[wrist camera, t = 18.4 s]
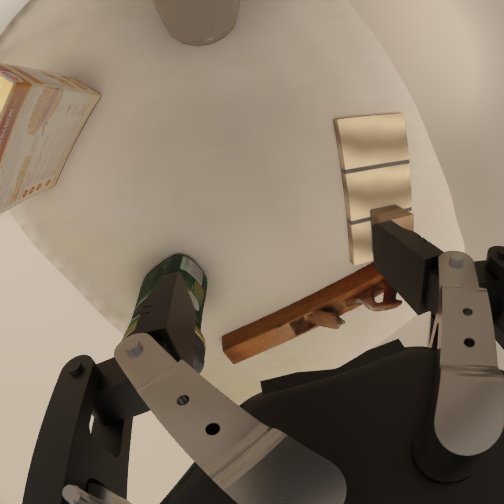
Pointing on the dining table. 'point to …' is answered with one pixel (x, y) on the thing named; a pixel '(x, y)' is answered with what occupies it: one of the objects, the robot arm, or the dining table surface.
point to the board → (372, 173)
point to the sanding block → (392, 217)
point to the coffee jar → (196, 289)
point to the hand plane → (311, 313)
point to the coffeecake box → (37, 129)
